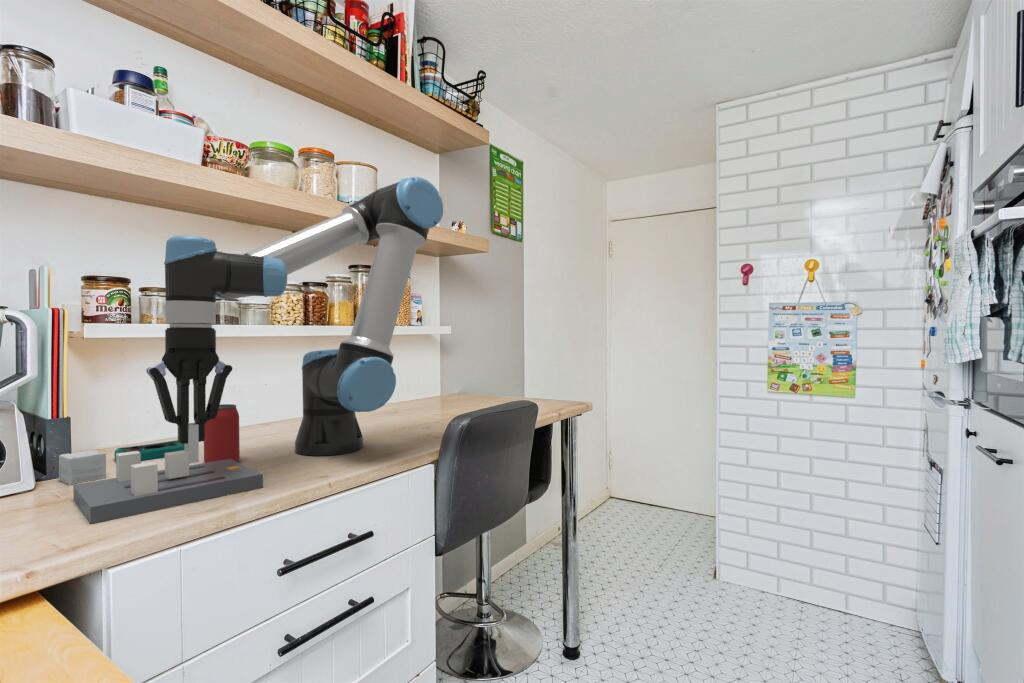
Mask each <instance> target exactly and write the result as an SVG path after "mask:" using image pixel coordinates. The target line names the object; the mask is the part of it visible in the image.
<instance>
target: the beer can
mask: <svg viewBox="0 0 1024 683" xmlns="http://www.w3.org/2000/svg"><path fill="white" fill-rule="evenodd" d="M206 408H207V406H206ZM240 455H241V454H240V414H239V411H238V409H237V405H236V404H234V403H233V404H229V403H227V404H220V405H219V409H218V413H217V416H216V418H214V419H210V420H208V421H207V422H206V423H205V439H204V441H203V463H208V462H214V461H220V460H226V459H232V460H234V461H236V462H238V461H239V460H240V457H241V456H240Z"/></svg>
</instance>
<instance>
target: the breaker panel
mask: <svg viewBox="0 0 1024 683" xmlns="http://www.w3.org/2000/svg"><path fill="white" fill-rule="evenodd" d="M158 469H159V468H158V463H157V462H155V461H148V462H142V461H141V453H140V452H138V451H132V452H125V453H118V454H116V461H115V472H116V473H115V475H116V476H115V477H114V478H113V477H112V478H105V479H99V480H94V481H89V482H84V483H79V484H74V485H72V487H73V488H72V489H73V492H72V494H73V501H74V502H75V504H76V506H77V507H78V508H79V509H80V511H81V512H82V513H84V514H83V516H84V517H85V516H86V517H85V518H86V519H87V521H88V522H89V524H90V525H92V524H97V523H101V522H105V521H106V522H107V521H111V520H116V519H120V518H125V517H129V516H130V517H131V516H135V515H139V514H144V513H149V512H153V511H158V510H163V509H167V508H172V507H176V506H182V505H185V504H186V505H187V504H191V503H192V504H193V503H196V502H200V501H201V502H202V501H205V500H211V499H215V498H219V497H218V496H220V497H224V496H223V495H225V496H228V495H227V494H230V495H233V494H232V493H234V494H238V493H237V492H239V493H242V492H243V491H244V492H248V491H252V489H253V490H257V488H258V489H261V488H264V474H263V473H262V472H260V471H258V470H256V469H253V468H251V467H249V466H247V465H244V464H243V463H240V462H238V461H237V462H236V461H234V460H232V459H226V460H220V461H214V462H208V463H204V462H203V463H197V464H191V465H190V464H189V476H183V477H178V478H172V479H168V478H167V477H165V469H161V470H160V469H159V470H158ZM247 490H248V491H247ZM214 497H215V498H214ZM210 498H211V499H210Z"/></svg>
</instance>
